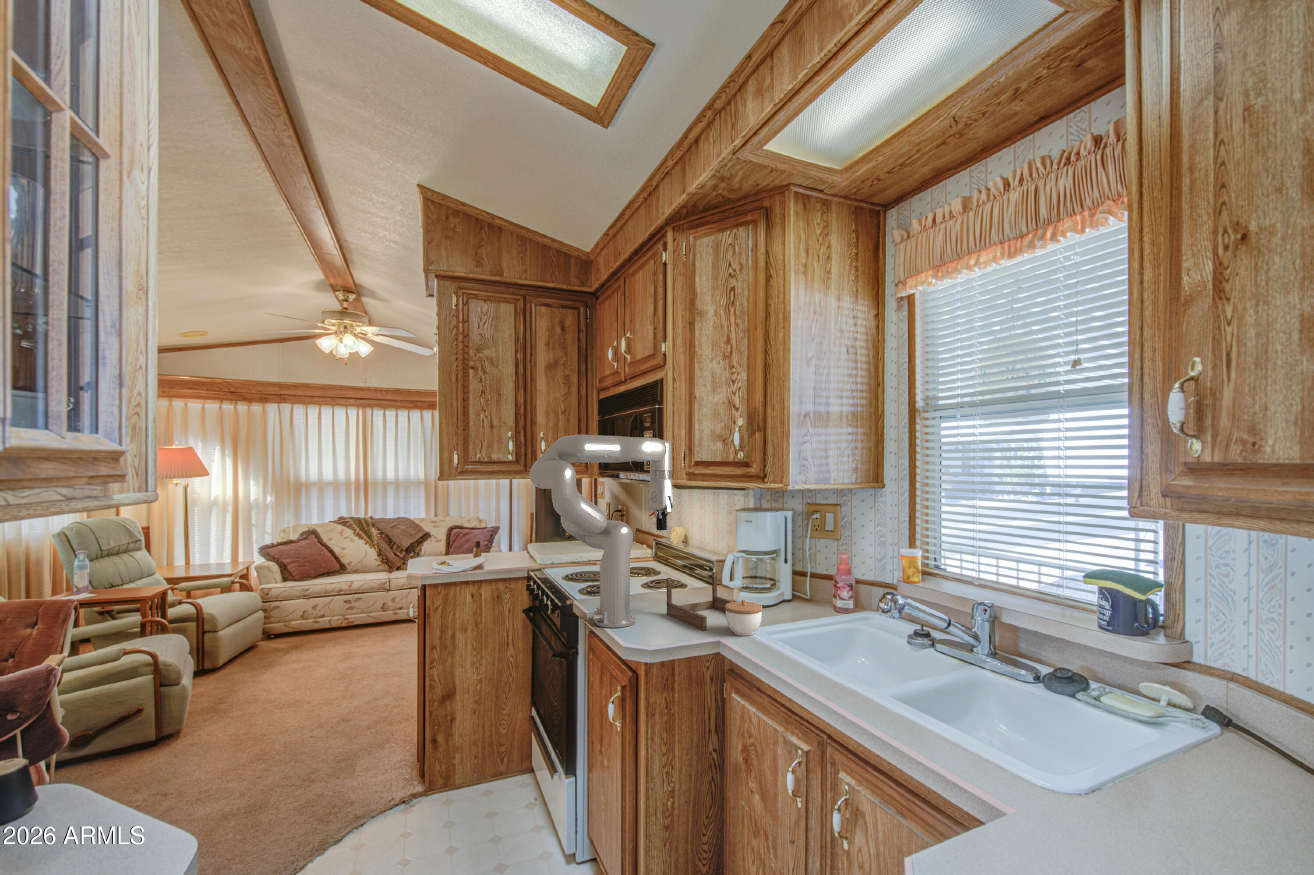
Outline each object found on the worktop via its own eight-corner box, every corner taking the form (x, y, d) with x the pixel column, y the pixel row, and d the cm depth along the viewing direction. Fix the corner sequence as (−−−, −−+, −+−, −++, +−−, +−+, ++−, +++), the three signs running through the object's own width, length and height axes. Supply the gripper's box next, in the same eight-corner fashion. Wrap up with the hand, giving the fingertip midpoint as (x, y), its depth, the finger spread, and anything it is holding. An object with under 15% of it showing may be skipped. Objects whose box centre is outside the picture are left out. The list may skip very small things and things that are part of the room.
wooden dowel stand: (703, 631, 164) (702, 589, 165) (666, 615, 182) (666, 578, 183) (755, 621, 173) (754, 582, 174) (715, 607, 192) (714, 572, 193)
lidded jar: (747, 640, 154) (746, 606, 155) (717, 632, 162) (717, 600, 163) (770, 632, 162) (769, 599, 162) (741, 625, 169) (740, 594, 170)
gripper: (641, 476, 195) (641, 528, 194) (662, 476, 182) (663, 532, 181) (659, 475, 199) (660, 527, 198) (681, 476, 186) (682, 531, 185)
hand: (661, 529), depth 190 cm, fingers closed
